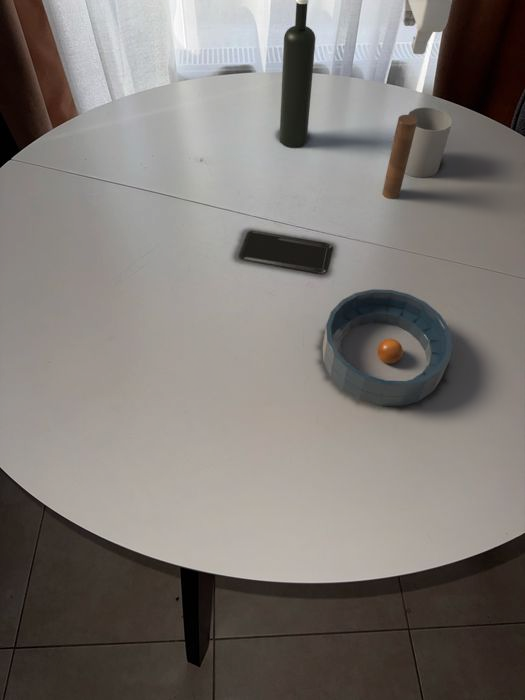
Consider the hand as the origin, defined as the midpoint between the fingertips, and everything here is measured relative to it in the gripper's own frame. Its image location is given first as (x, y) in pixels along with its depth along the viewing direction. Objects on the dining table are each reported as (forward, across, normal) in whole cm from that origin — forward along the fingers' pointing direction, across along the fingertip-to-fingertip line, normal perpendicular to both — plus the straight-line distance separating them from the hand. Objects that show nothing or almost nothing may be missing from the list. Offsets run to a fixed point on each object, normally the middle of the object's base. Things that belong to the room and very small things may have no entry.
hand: (412, 37), depth 87 cm
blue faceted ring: (+29, -39, +4) cm, 49 cm away
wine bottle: (+29, +19, +16) cm, 38 cm away
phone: (+29, -17, +18) cm, 38 cm away
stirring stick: (+29, 0, -2) cm, 29 cm away
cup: (+29, +11, -9) cm, 33 cm away
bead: (+27, -39, +3) cm, 48 cm away
